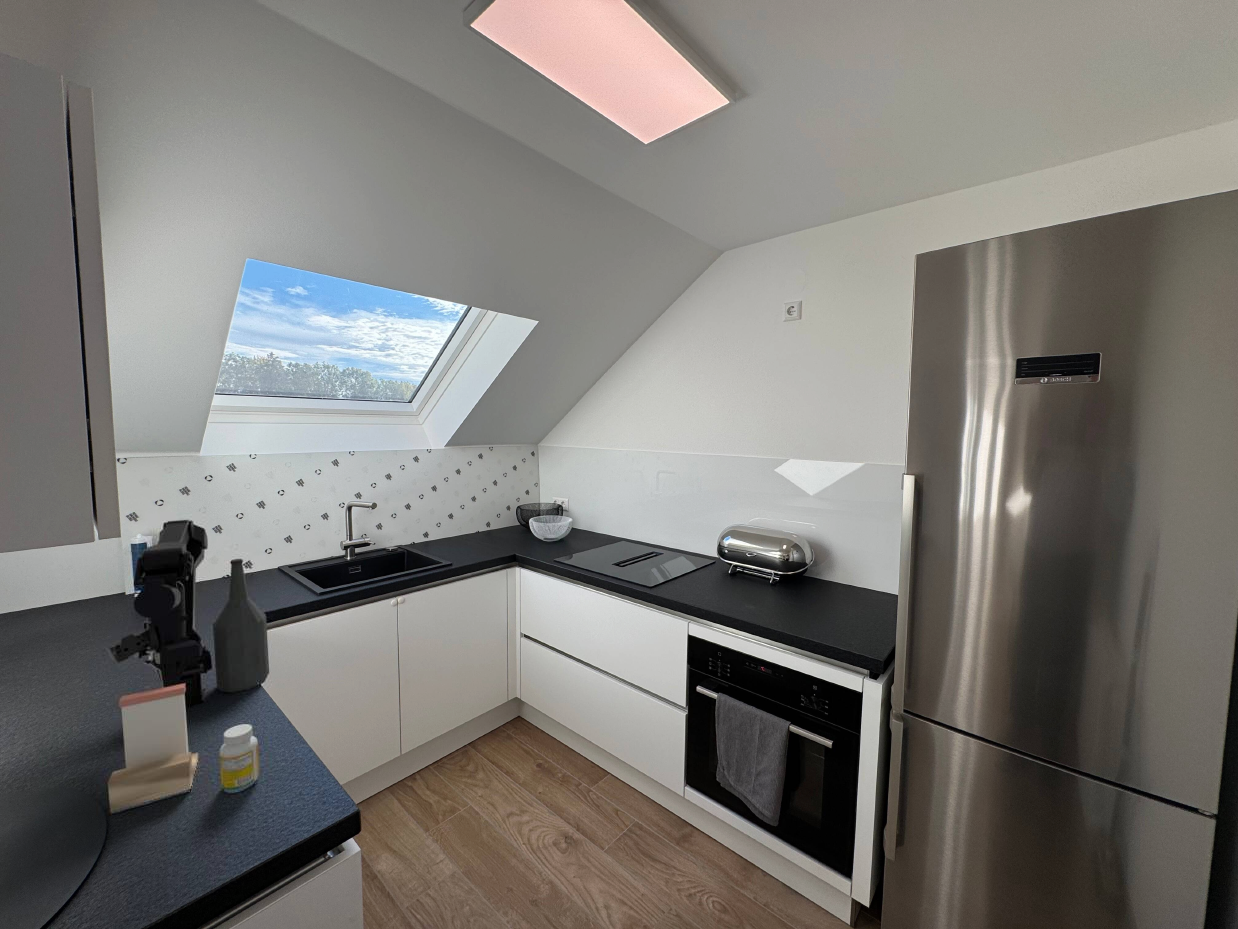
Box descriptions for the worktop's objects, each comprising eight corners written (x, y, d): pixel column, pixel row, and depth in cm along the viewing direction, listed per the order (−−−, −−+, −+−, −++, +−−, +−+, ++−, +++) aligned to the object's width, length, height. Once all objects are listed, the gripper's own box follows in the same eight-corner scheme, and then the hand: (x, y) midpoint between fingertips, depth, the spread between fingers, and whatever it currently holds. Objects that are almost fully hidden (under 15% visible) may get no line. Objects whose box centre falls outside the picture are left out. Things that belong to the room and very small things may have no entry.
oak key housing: (126, 779, 93) (123, 749, 93) (198, 760, 98) (196, 731, 98) (110, 815, 85) (107, 782, 84) (190, 792, 90) (188, 760, 89)
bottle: (228, 697, 121) (220, 567, 118) (209, 686, 126) (201, 561, 123) (277, 679, 129) (271, 557, 127) (257, 669, 134) (250, 552, 132)
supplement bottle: (245, 795, 89) (242, 740, 88) (213, 794, 89) (210, 740, 89) (266, 773, 95) (263, 721, 94) (236, 773, 95) (233, 721, 94)
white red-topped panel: (127, 776, 91) (121, 696, 90) (190, 759, 96) (185, 683, 94) (125, 782, 90) (118, 701, 89) (189, 765, 94) (183, 687, 93)
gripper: (98, 620, 103) (99, 704, 101) (122, 623, 92) (124, 717, 90) (171, 609, 112) (174, 685, 110) (201, 610, 101) (204, 695, 99)
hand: (168, 695), depth 102 cm, fingers closed
